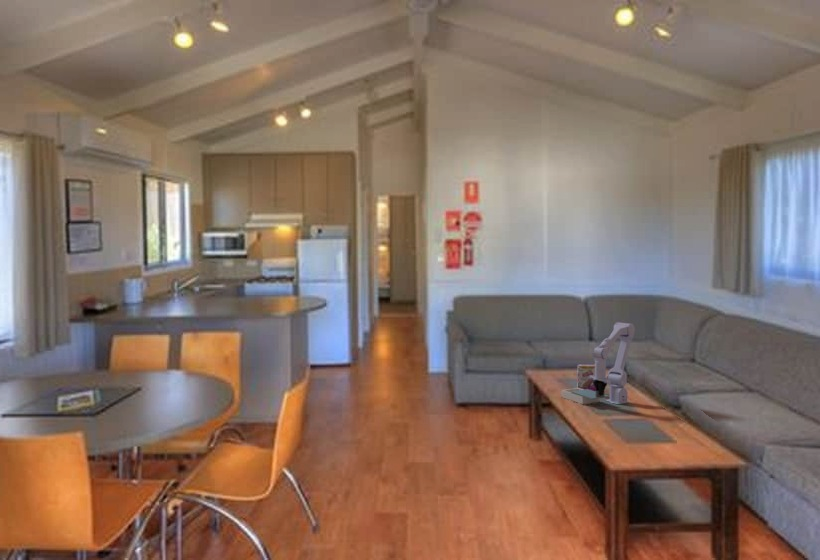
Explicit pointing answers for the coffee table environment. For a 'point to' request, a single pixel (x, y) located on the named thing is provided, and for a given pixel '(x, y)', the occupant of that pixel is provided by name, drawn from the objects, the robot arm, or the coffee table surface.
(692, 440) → the coffee table surface
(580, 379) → the candy bar box
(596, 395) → the carton lid
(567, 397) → the carton
